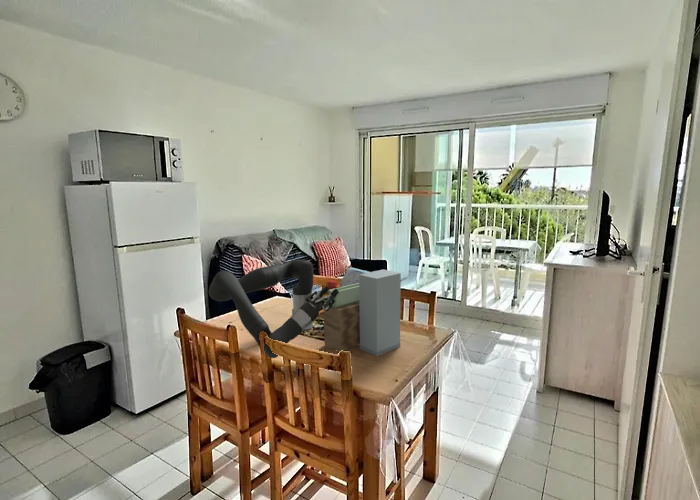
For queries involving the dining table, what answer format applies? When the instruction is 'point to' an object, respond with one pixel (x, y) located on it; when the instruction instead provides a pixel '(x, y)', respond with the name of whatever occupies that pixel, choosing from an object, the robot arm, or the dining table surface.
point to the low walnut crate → (342, 327)
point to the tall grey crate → (379, 311)
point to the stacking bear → (331, 286)
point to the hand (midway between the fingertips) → (332, 288)
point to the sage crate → (346, 295)
